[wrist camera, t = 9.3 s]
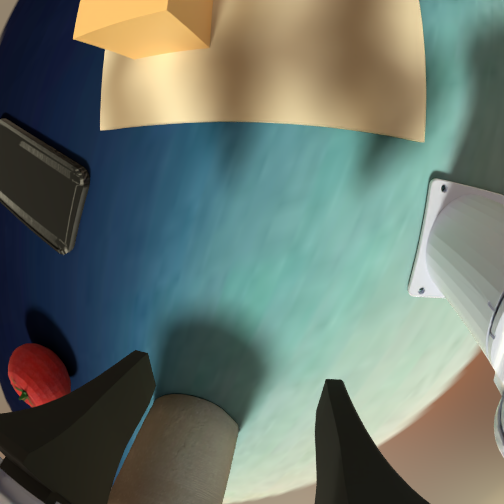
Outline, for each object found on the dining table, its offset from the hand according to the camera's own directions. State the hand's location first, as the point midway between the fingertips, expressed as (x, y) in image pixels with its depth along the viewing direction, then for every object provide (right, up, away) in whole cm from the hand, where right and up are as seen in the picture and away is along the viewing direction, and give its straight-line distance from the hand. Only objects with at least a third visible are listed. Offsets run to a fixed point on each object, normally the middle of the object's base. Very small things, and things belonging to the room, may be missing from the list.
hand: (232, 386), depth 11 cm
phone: (-19, +12, +9) cm, 24 cm away
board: (+1, +19, +2) cm, 19 cm away
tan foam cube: (-4, +19, +2) cm, 20 cm away
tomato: (-24, -8, +18) cm, 31 cm away
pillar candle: (-5, -13, +16) cm, 21 cm away
